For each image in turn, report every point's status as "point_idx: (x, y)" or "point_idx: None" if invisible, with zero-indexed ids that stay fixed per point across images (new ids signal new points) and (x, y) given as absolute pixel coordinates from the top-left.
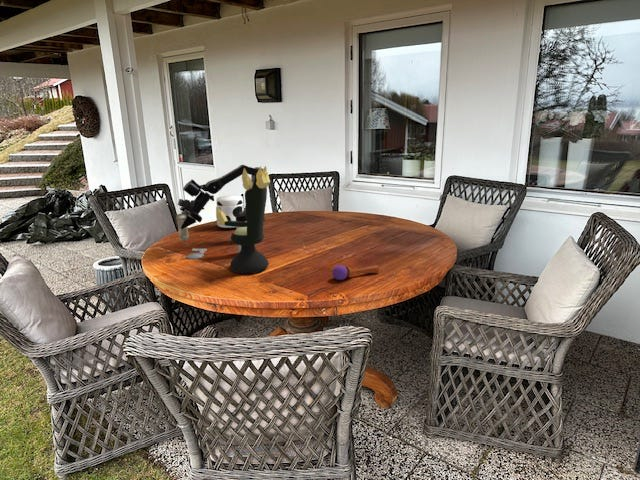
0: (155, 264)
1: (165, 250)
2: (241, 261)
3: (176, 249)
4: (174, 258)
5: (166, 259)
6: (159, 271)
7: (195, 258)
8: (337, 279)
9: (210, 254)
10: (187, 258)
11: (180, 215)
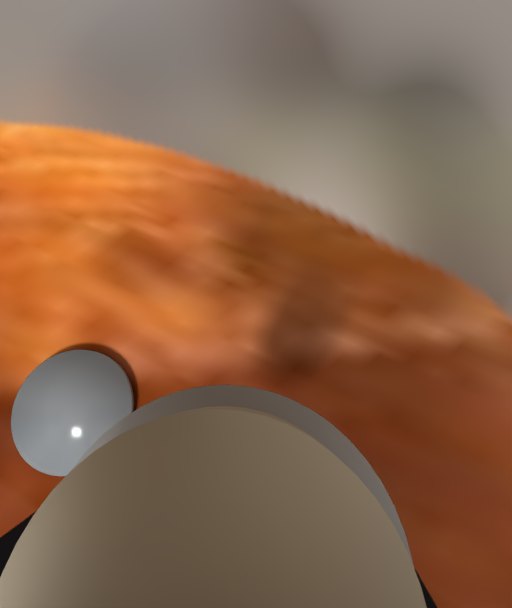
0: (148, 181)
1: (370, 328)
2: None
3: (337, 395)
4: (157, 294)
5: (179, 254)
6: (31, 155)
7: (25, 382)
8: None
9: (19, 521)
10: (83, 350)
11: (55, 501)
